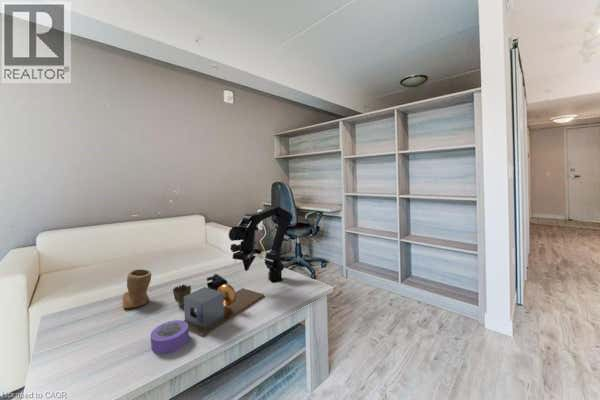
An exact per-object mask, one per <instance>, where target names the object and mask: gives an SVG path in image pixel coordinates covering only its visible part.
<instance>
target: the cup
mask: <svg viewBox="0 0 600 400" xmlns="http://www.w3.org/2000/svg"><path fill="white" fill-rule="evenodd" d="M191 290H192V285H190V284H188V286H187V284H182V285H179V286H175V287H174V288H173V289H172V292H173V296H174V300H175V301H176V303H177V304H178V306H180V307H184V296H186V295H188V294H191V293H192V292H191Z"/></svg>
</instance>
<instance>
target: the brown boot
mask: <svg viewBox="0 0 600 400" xmlns="http://www.w3.org/2000/svg"><path fill="white" fill-rule="evenodd" d="M151 279H152V272H151V271H150V270H149V269H143V268H138V269H137V268H136V269H133V270H131V271H129V273H128V274H127V279H126V287H127V291H126V292H124V293H123V295H122V302H121V303H122V307H123V308H125V309H131V308H133V309H134V308H136V307H140V306H144V305H145V304H147V302H148V299H149V298H148V297H149V296H148V294H147V293H148V292H147V291H148V288H149V285H150V283H151Z"/></svg>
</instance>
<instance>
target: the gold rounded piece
mask: <svg viewBox="0 0 600 400" xmlns="http://www.w3.org/2000/svg"><path fill="white" fill-rule="evenodd" d="M217 291H219V292H223V298H224V306H229V305H231V304H232V303H234V302H235V299H236V294H235V292H236V290H235V288H234V287H233V286H232V285H231V284H230V283H228V284H224V285H222V286H220V287H219V288H218V289H217ZM193 313H194V315H197V309H195V308H193Z"/></svg>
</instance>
